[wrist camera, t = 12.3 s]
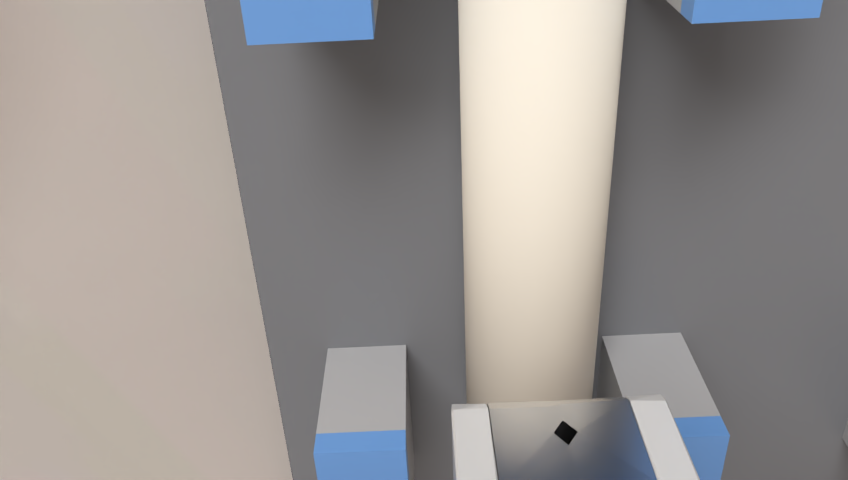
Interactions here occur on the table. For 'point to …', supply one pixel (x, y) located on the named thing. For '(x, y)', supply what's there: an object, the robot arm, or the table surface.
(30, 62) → the table surface
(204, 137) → the table surface
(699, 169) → the grey peg board
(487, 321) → the white capsule
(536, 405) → the robot arm
